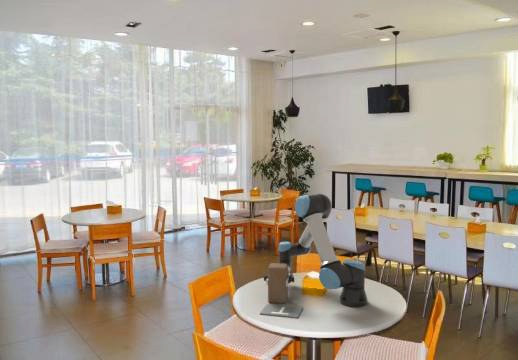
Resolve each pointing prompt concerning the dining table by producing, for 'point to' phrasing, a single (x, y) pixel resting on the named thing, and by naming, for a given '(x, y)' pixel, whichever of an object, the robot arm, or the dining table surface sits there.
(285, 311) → the letter board
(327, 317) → the dining table surface
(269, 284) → the block
